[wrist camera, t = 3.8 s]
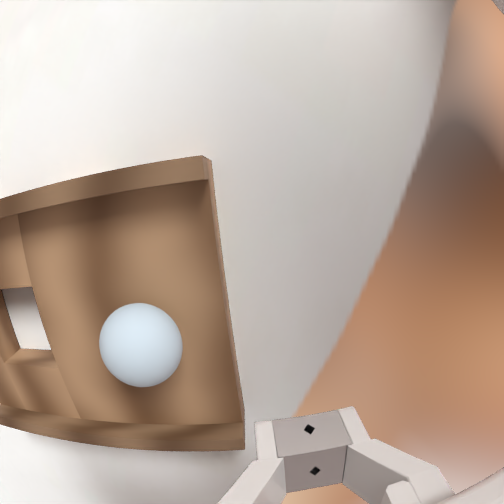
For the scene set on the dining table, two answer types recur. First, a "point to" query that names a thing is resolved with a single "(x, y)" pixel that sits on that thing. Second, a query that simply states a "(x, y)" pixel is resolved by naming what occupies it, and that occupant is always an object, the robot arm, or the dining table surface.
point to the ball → (140, 345)
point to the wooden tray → (113, 297)
